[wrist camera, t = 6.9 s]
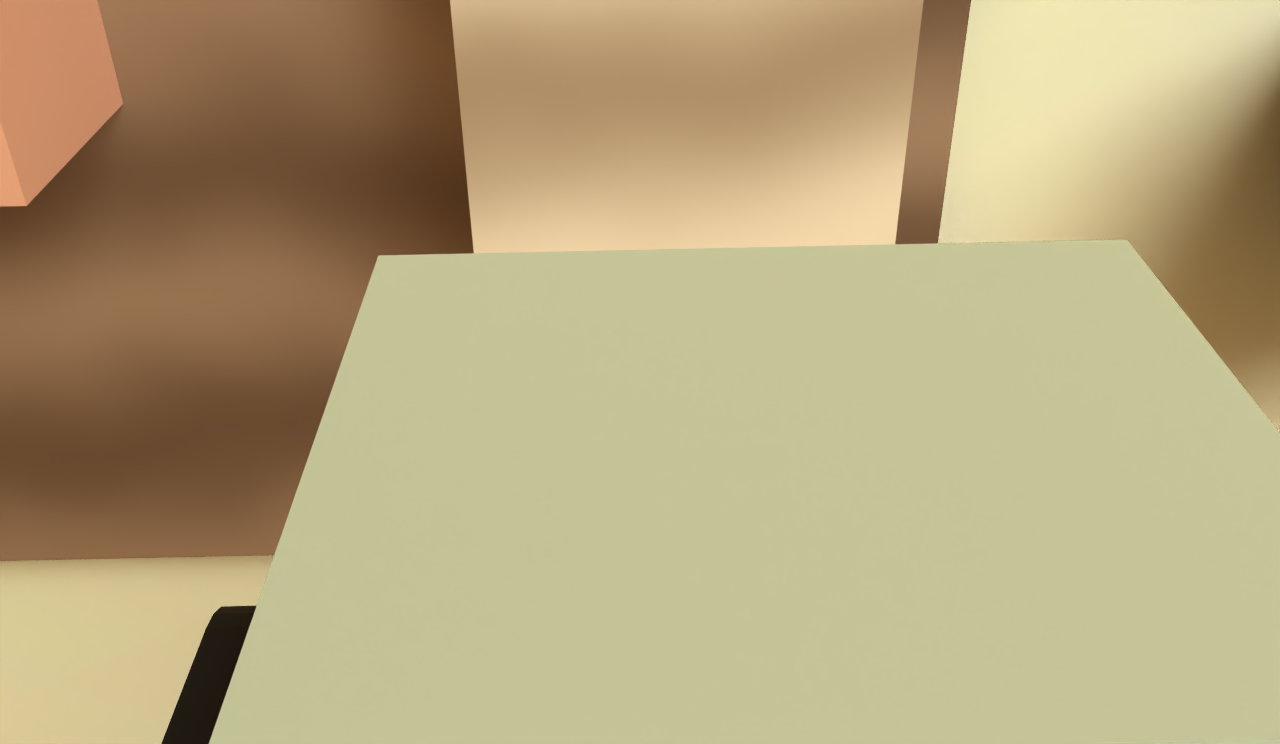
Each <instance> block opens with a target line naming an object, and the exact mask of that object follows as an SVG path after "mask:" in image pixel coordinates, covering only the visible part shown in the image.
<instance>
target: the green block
mask: <svg viewBox="0 0 1280 744" xmlns="http://www.w3.org/2000/svg"><path fill="white" fill-rule="evenodd" d="M209 744H1280V433H1279V431H1278V430H1277V429H1276V427H1275V426H1274V425H1273V424H1272V422H1271V421H1270V420H1269V419H1268V417H1267V416H1266V415H1265V414H1264V412H1263V411H1262V410H1261V409H1260V407H1259V406H1258V405H1257V403H1256V402H1255V401H1254V400H1253V398H1252V397H1251V396H1250V395H1249V393H1248V392H1247V391H1246V390H1245V388H1244V387H1243V386H1242V384H1241V383H1240V382H1239V381H1238V379H1237V378H1236V377H1235V376H1234V374H1233V373H1232V372H1231V371H1230V369H1229V368H1228V367H1227V366H1226V364H1225V363H1224V362H1223V360H1222V359H1221V358H1220V357H1219V355H1218V354H1217V353H1216V352H1215V350H1214V349H1213V348H1212V347H1211V345H1210V344H1209V343H1208V341H1207V340H1206V339H1205V338H1204V336H1203V335H1202V334H1201V333H1200V331H1199V330H1198V329H1197V328H1196V326H1195V325H1194V324H1193V322H1192V321H1191V320H1190V319H1189V317H1188V316H1187V315H1186V314H1185V312H1184V311H1183V310H1182V309H1181V307H1180V306H1179V305H1178V304H1177V302H1176V301H1175V300H1174V298H1173V297H1172V296H1171V295H1170V293H1169V292H1168V291H1167V290H1166V288H1165V287H1164V286H1163V285H1162V283H1161V282H1160V281H1159V279H1158V278H1157V277H1156V276H1155V274H1154V273H1153V272H1152V271H1151V269H1150V268H1149V267H1148V266H1147V264H1146V263H1145V262H1144V261H1143V259H1142V258H1141V257H1140V255H1139V254H1138V253H1137V252H1136V250H1135V249H1134V248H1133V247H1132V245H1131V244H1130V243H1129V242H1128V240H1127V239H1122V240H1076V241H1029V242H983V243H936V244H890V245H843V246H796V247H750V248H703V249H657V250H610V251H564V252H517V253H471V254H424V255H378V258H377V261H376V264H375V267H374V270H373V272H372V275H371V278H370V281H369V284H368V287H367V290H366V293H365V295H364V298H363V301H362V304H361V307H360V310H359V313H358V316H357V319H356V321H355V324H354V327H353V330H352V333H351V336H350V339H349V342H348V344H347V347H346V350H345V353H344V356H343V359H342V362H341V365H340V367H339V370H338V373H337V376H336V379H335V382H334V385H333V388H332V391H331V393H330V396H329V399H328V402H327V405H326V408H325V411H324V414H323V416H322V419H321V422H320V425H319V428H318V431H317V434H316V437H315V439H314V442H313V445H312V448H311V451H310V454H309V457H308V460H307V463H306V465H305V468H304V471H303V474H302V477H301V480H300V483H299V486H298V488H297V491H296V494H295V497H294V500H293V503H292V506H291V509H290V511H289V514H288V517H287V520H286V523H285V526H284V529H283V532H282V534H281V537H280V540H279V543H278V546H277V549H276V552H275V555H274V558H273V560H272V563H271V566H270V569H269V572H268V575H267V578H266V581H265V583H264V586H263V589H262V592H261V595H260V598H259V601H258V604H257V606H256V609H255V612H254V615H253V618H252V621H251V624H250V627H249V630H248V632H247V635H246V638H245V641H244V644H243V647H242V650H241V653H240V655H239V658H238V661H237V664H236V667H235V670H234V673H233V676H232V678H231V681H230V684H229V687H228V690H227V693H226V696H225V699H224V701H223V704H222V707H221V710H220V713H219V716H218V719H217V722H216V725H215V727H214V730H213V733H212V736H211V739H210V742H209Z"/></svg>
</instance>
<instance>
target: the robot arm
mask: <svg viewBox="0 0 1280 744" xmlns="http://www.w3.org/2000/svg"><path fill="white" fill-rule="evenodd" d="M255 609H256V606H231V607H221V608H220V609H218V610H217V611H216V612H215V613H214V614H213V616H212V618H211V620H210V622H209V624H208V626H207V628H206V630H205V633H204V635H203V638H202V640H201V643H200V646H199V648H198V651H197V653H196V656H195V658H194V661H193V664H192V666H191V669H190V671H189V674H188V677H187V679H186V682H185V684H184V687H183V690H182V692H181V695H180V697H179V700H178V702H177V705H176V708H175V710H174V713H173V715H172V718H171V721H170V723H169V726H168V728H167V731H166V733H165V736H164V739H163V741H162V744H209V742H210V739H211V736H212V733H213V730H214V727H215V725H216V722H217V719H218V716H219V713H220V710H221V707H222V704H223V701H224V699H225V696H226V693H227V690H228V687H229V684H230V681H231V678H232V676H233V673H234V670H235V667H236V664H237V661H238V658H239V655H240V653H241V650H242V647H243V644H244V641H245V638H246V635H247V632H248V630H249V627H250V624H251V621H252V618H253V615H254V612H255Z"/></svg>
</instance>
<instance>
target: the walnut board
mask: <svg viewBox="0 0 1280 744" xmlns="http://www.w3.org/2000/svg"><path fill="white" fill-rule="evenodd" d="M97 2H98V5H99V9H100V13H101V17H102V21H103V25H104V29H105V33H106V37H107V41H108V45H109V49H110V53H111V57H112V61H113V65H114V69H115V73H116V77H117V81H118V85H119V89H120V93H121V97H122V101H123V104H122V105H121V107H120V108H119V109H118V110H117V111H116V112H115V113H114V114H113V115H112V116H111V117H110V118H109V119H108V120H107V121H106V122H105V123H104V125H103V126H102V127H101V128H100V129H99V130H98V131H97V132H96V133H95V134H94V135H93V136H92V137H91V138H90V139H89V140H88V142H87V143H86V144H85V145H84V146H83V147H82V148H81V149H80V150H79V151H78V152H77V153H76V154H75V155H74V156H73V157H72V158H71V160H70V161H69V162H68V163H67V164H66V165H65V166H64V167H63V168H62V169H61V170H60V171H59V172H58V173H57V174H56V175H55V177H54V178H53V179H52V180H51V181H50V182H49V183H48V184H47V185H46V186H45V187H44V188H43V189H42V190H41V191H40V192H39V193H38V195H37V196H36V197H35V198H34V199H33V200H32V201H31V202H30V203H29V204H28V205H27V206H0V561H16V560H63V559H110V558H158V557H205V556H252V555H275V552H276V549H277V546H278V543H279V540H280V537H281V534H282V532H283V529H284V526H285V523H286V520H287V517H288V514H289V511H290V509H291V506H292V503H293V500H294V497H295V494H296V491H297V488H298V486H299V483H300V480H301V477H302V474H303V471H304V468H305V465H306V463H307V460H308V457H309V454H310V451H311V448H312V445H313V442H314V439H315V437H316V434H317V431H318V428H319V425H320V422H321V419H322V416H323V414H324V411H325V408H326V405H327V402H328V399H329V396H330V393H331V391H332V388H333V385H334V382H335V379H336V376H337V373H338V370H339V367H340V365H341V362H342V359H343V356H344V353H345V350H346V347H347V344H348V342H349V339H350V336H351V333H352V330H353V327H354V324H355V321H356V319H357V316H358V313H359V310H360V307H361V304H362V301H363V298H364V295H365V293H366V290H367V287H368V284H369V281H370V278H371V275H372V272H373V270H374V267H375V264H376V261H377V258H378V255H424V254H471V253H474V250H473V239H472V229H471V218H470V208H469V197H468V186H467V176H466V165H465V155H464V144H463V133H462V123H461V112H460V102H459V91H458V80H457V70H456V59H455V49H454V38H453V27H452V17H451V6H450V0H97ZM970 3H971V0H923V9H922V18H921V26H920V35H919V43H918V52H917V61H916V69H915V78H914V86H913V95H912V104H911V112H910V121H909V129H908V138H907V147H906V155H905V164H904V172H903V181H902V190H901V198H900V207H899V215H898V224H897V232H896V241H895V244H936V243H938V236H939V229H940V222H941V214H942V207H943V200H944V193H945V185H946V178H947V171H948V164H949V156H950V149H951V142H952V134H953V127H954V120H955V113H956V105H957V98H958V91H959V83H960V76H961V69H962V62H963V54H964V47H965V40H966V33H967V25H968V18H969V11H970Z"/></svg>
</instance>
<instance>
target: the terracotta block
mask: <svg viewBox="0 0 1280 744" xmlns="http://www.w3.org/2000/svg"><path fill="white" fill-rule="evenodd" d="M122 104H123V101H122V97H121V93H120V89H119V85H118V81H117V77H116V73H115V69H114V65H113V61H112V57H111V53H110V49H109V45H108V41H107V37H106V33H105V29H104V25H103V21H102V17H101V13H100V9H99V5H98V2H97V0H0V206H27V205H28V204H29V203H30V202H31V201H32V200H33V199H34V198H35V197H36V196H37V195H38V193H39V192H40V191H41V190H42V189H43V188H44V187H45V186H46V185H47V184H48V183H49V182H50V181H51V180H52V179H53V178H54V177H55V175H56V174H57V173H58V172H59V171H60V170H61V169H62V168H63V167H64V166H65V165H66V164H67V163H68V162H69V161H70V160H71V158H72V157H73V156H74V155H75V154H76V153H77V152H78V151H79V150H80V149H81V148H82V147H83V146H84V145H85V144H86V143H87V142H88V140H89V139H90V138H91V137H92V136H93V135H94V134H95V133H96V132H97V131H98V130H99V129H100V128H101V127H102V126H103V125H104V123H105V122H106V121H107V120H108V119H109V118H110V117H111V116H112V115H113V114H114V113H115V112H116V111H117V110H118V109H119V108H120V107H121V105H122Z"/></svg>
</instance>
